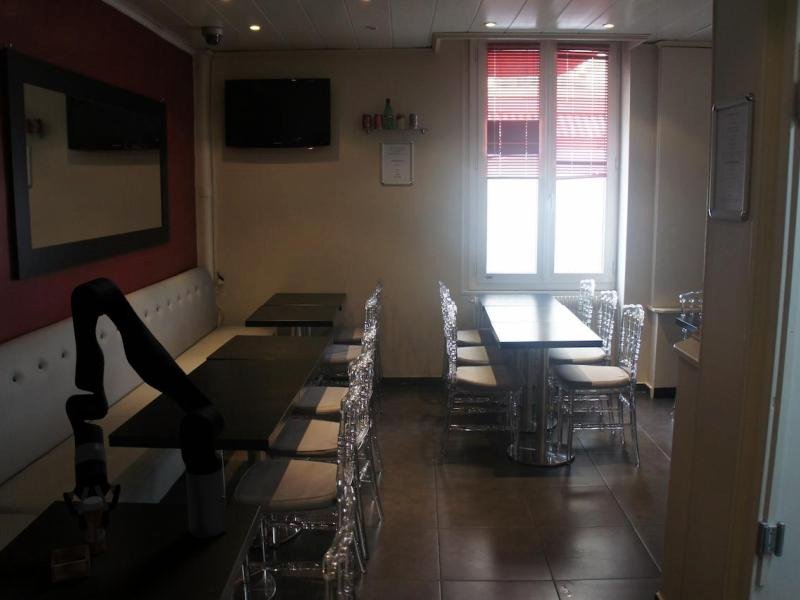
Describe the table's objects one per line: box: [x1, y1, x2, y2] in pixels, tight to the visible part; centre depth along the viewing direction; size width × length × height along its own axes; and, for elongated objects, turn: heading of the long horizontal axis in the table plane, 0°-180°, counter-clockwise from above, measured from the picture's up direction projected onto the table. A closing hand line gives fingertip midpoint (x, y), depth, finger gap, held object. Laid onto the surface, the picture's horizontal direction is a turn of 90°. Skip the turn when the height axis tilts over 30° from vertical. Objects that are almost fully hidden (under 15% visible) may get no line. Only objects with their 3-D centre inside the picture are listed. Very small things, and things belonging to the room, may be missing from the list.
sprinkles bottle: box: [83, 496, 107, 555], centre depth 185 cm, size 5×5×14 cm
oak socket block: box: [50, 543, 91, 584], centre depth 176 cm, size 8×8×4 cm
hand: (94, 529), depth 183 cm, fingers closed on sprinkles bottle, 4 cm apart
